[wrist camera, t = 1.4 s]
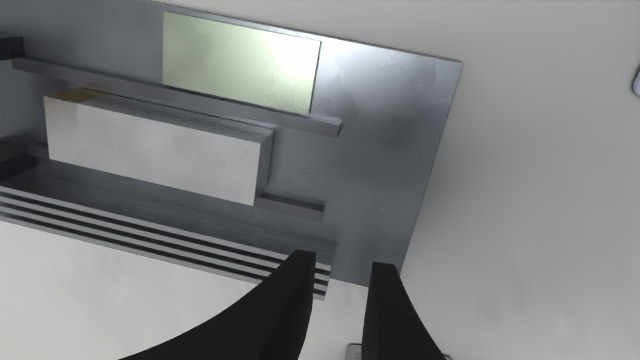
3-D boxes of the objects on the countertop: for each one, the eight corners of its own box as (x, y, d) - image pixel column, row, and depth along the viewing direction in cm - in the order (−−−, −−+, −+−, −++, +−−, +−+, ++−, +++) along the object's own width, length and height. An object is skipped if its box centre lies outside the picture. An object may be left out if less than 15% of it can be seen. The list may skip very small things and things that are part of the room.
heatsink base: (459, 61, 18) (479, 76, 14) (393, 282, 23) (393, 343, 19) (-56, -39, 20) (-173, -51, 16) (-17, 182, 25) (-100, 218, 21)
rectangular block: (274, 130, 20) (260, 143, 18) (266, 187, 21) (253, 206, 19) (77, 87, 20) (43, 96, 18) (81, 144, 22) (49, 158, 20)
